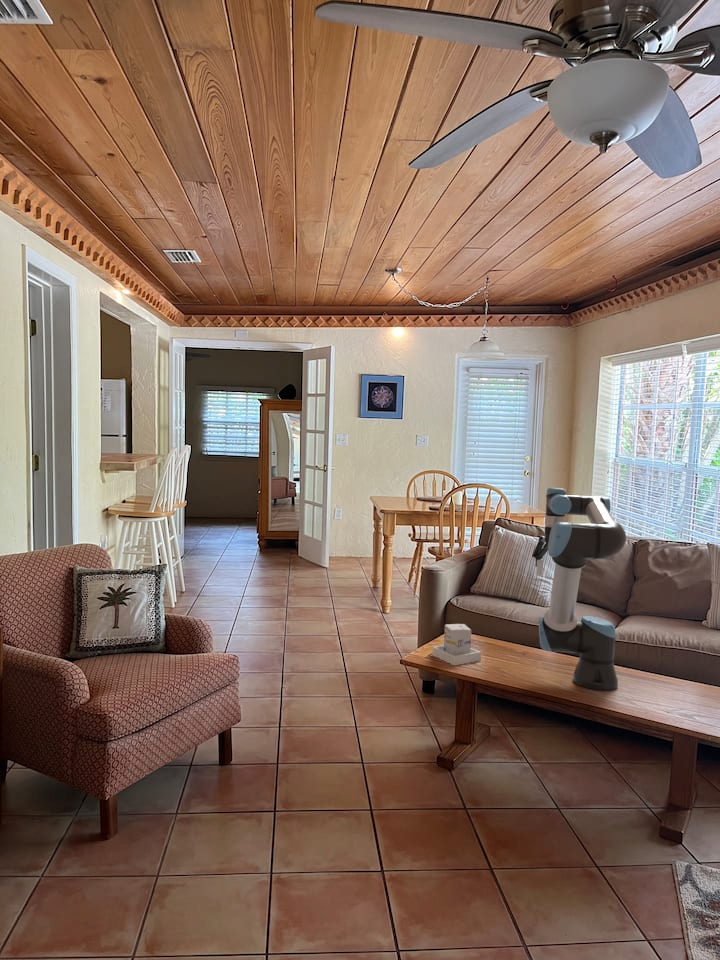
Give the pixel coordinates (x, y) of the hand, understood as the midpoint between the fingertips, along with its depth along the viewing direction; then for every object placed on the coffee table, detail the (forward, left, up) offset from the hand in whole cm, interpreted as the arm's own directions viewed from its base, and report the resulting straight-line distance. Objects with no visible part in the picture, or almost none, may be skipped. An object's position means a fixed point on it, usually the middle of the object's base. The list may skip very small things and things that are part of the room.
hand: (551, 578), depth 265 cm
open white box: (+14, +36, -32) cm, 50 cm away
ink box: (+14, +36, -31) cm, 50 cm away
